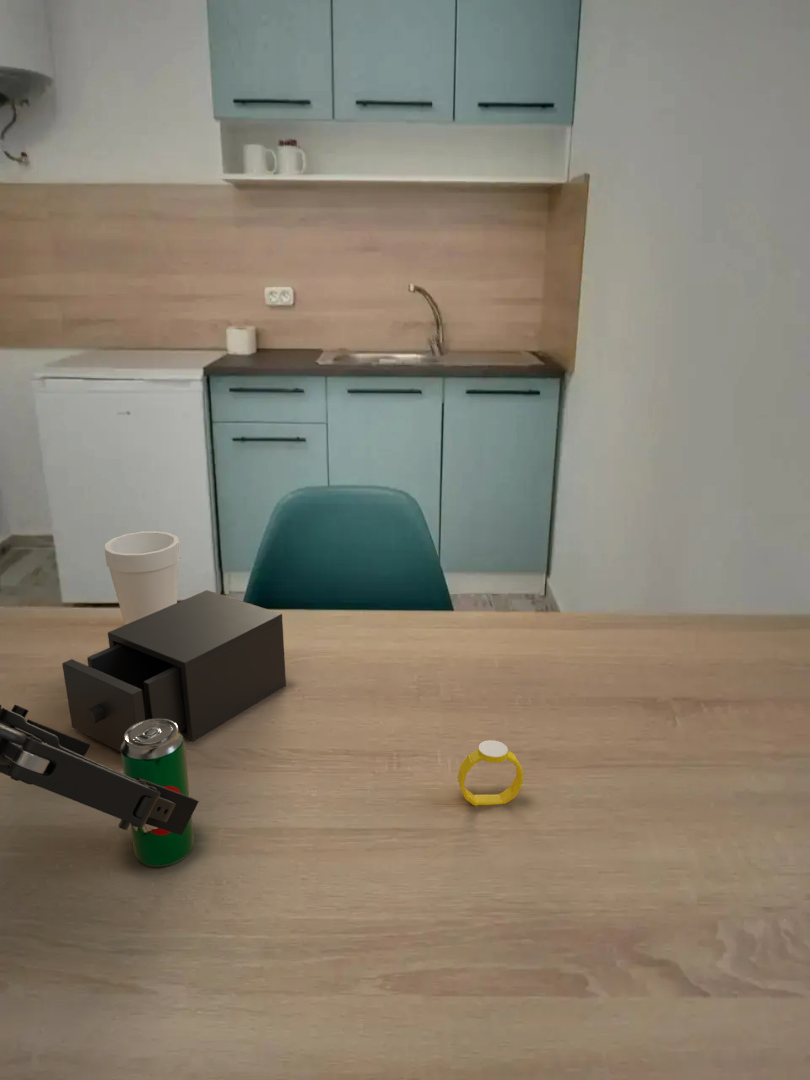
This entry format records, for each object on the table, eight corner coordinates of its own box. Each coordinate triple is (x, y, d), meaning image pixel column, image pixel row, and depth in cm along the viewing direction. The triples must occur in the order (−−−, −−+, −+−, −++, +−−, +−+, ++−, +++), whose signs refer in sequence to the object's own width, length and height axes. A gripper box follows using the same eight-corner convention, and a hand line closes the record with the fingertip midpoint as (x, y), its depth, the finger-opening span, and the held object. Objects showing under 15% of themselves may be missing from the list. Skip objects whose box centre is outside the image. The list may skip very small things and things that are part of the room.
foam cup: (169, 650, 108) (159, 557, 104) (103, 645, 110) (90, 553, 105) (197, 619, 117) (189, 533, 113) (136, 615, 118) (126, 529, 114)
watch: (461, 814, 77) (462, 759, 75) (455, 795, 80) (456, 742, 78) (523, 808, 78) (527, 754, 76) (516, 790, 80) (519, 737, 78)
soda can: (207, 843, 73) (195, 726, 69) (164, 879, 69) (149, 756, 65) (165, 824, 76) (152, 709, 72) (122, 857, 72) (105, 737, 68)
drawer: (130, 768, 82) (121, 699, 80) (61, 732, 88) (51, 667, 86) (238, 705, 94) (233, 642, 91) (170, 677, 100) (164, 618, 97)
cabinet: (192, 743, 88) (184, 663, 85) (117, 708, 95) (107, 632, 92) (286, 687, 99) (282, 613, 96) (213, 658, 106) (207, 589, 103)
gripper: (-222, 699, 56) (18, 776, 73) (-24, 839, 43) (215, 895, 60) (-154, 601, 59) (63, 698, 75) (53, 706, 45) (262, 796, 62)
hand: (130, 785), depth 68 cm, fingers open, 13 cm apart
